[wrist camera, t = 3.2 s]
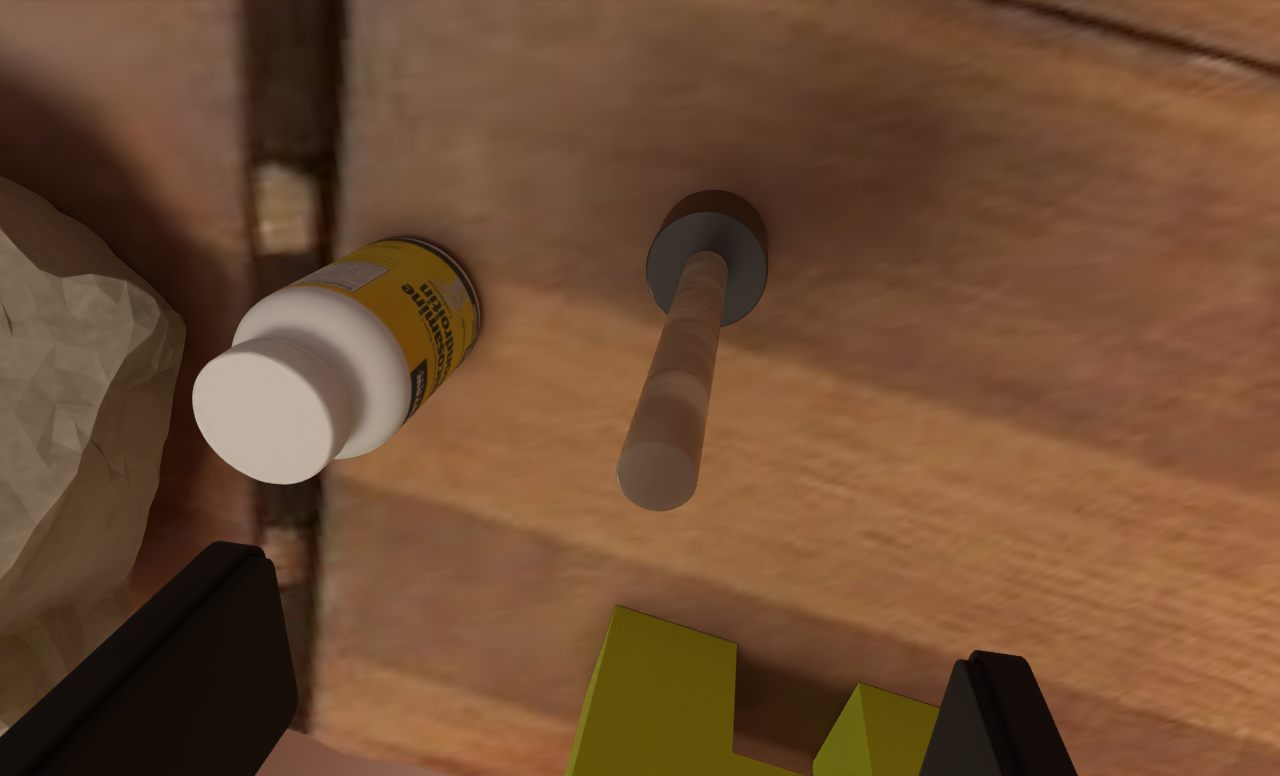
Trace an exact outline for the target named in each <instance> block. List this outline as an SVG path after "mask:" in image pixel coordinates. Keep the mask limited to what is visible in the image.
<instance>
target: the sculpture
mask: <svg viewBox="0 0 1280 776" xmlns="http://www.w3.org/2000/svg"><path fill="white" fill-rule="evenodd" d="M186 330H187V328H186V326H185V324H184V322H183V320H182V318H181V316H180V314H178V313H176V312H175V311H174V310H173V309H172V308H171V307H170V305H169V304H168V303H167V302H166V301H165V299H164V298H163V297H162V296H161V295H160V294H159V293H158V292H157V291H156V290H155V289H154V288H153V287H152V286H151V285H150V284H149V283H148V282H147V281H146V280H145V279H144V278H142V277H141V276H140V275H138V274H137V273H136V272H134V271H133V270H132V269H131V268H130V267H128V266H127V265H126V264H125V263H124V262H122V261H121V260H120V259H119V258H118V257H116V256H115V254H114V253H113V252H112V250H111V249H110V248H109V246H108V245H107V244H106V242H105V241H104V240H103V239H102V238H100V237H99V236H98V235H96V234H95V233H94V232H93V231H91V230H90V229H89V228H88V227H86V226H85V225H84V224H82V223H81V222H79V221H77V220H75V219H73V218H71V217H69V216H67V215H64V214H62V213H60V212H59V211H58V210H57V209H56V208H55V207H54V206H53V205H52V204H50V203H49V202H48V201H46V200H45V199H44V198H42V197H41V196H40V195H38V194H36V193H34V192H32V191H30V190H28V189H26V188H24V187H23V186H21V185H19V184H17V183H15V182H13V181H11V180H9V179H6V178H4V177H2V176H0V737H1V736H2V735H3V734H4V733H5V732H6V731H7V730H8V729H9V728H10V727H12V726H13V725H14V724H15V723H16V722H17V721H18V720H19V719H20V718H21V717H22V716H23V715H25V714H26V713H27V712H28V711H29V710H30V709H31V708H32V707H33V706H34V705H35V704H37V703H38V702H39V701H40V700H41V699H42V698H43V697H44V696H45V695H46V694H47V693H49V692H50V691H51V690H52V689H53V688H54V687H55V686H56V685H57V684H58V683H59V682H60V681H62V680H63V679H64V678H65V677H66V676H67V675H68V674H69V673H70V672H71V671H72V670H74V669H75V668H76V667H77V666H78V665H79V664H80V663H81V662H82V661H83V660H84V659H86V658H87V657H88V656H89V655H90V654H91V653H92V652H93V651H94V650H95V649H96V648H97V647H99V646H100V645H101V644H102V643H103V642H104V641H105V640H106V639H107V638H108V637H109V636H111V635H112V634H113V633H114V632H115V631H116V630H117V629H118V628H119V627H120V626H121V625H123V624H124V623H125V622H126V621H127V620H128V619H129V618H130V615H131V613H132V610H133V609H132V604H131V599H130V592H131V580H132V574H133V568H134V563H135V560H136V556H137V554H138V552H139V549H140V547H141V544H142V540H143V536H144V533H145V529H146V525H147V520H148V515H149V510H150V507H151V504H152V501H153V499H154V496H155V494H156V491H157V489H158V486H159V480H160V474H159V469H160V463H161V458H162V452H163V446H164V442H165V440H166V438H167V436H168V433H169V426H170V418H171V411H172V404H173V396H174V389H175V385H176V380H177V376H178V372H179V369H180V365H181V361H182V356H183V350H184V345H185V337H186Z"/></svg>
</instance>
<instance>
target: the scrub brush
mask: <svg viewBox="0 0 1280 776" xmlns="http://www.w3.org/2000/svg"><path fill="white" fill-rule="evenodd" d="M767 274H768V255H767V235H766V230H765V227H764V224H763V221H762V219H761V217H760V216H759V214H758V213H757V211H756V210H755V209H754V208H753V207H752V206H751V205H750V204H749V203H748V202H747V201H745V200H744V199H742V198H741V197H739V196H737V195H735V194H732V193H729V192H726V191H719V190H708V191H702V192H698V193H695V194H692V195H690V196H688V197H686V198H684V199H683V200H681V201H680V202H679V203H678V204H676V205H675V206H674V207H673V208H672V210H671V211H670V212H669V214H668V215H667V217H666V219H665V220H664V222H663V224H662V226H661V228H660V230H659V232H658V233H657V235H656V237H655V239H654V241H653V243H652V245H651V247H650V250H649V253H648V257H647V262H646V277H647V283H648V286H649V289H650V292H651V294H652V296H653V298H654V300H655V301H656V303H657V304H658V305H659V307H660V308H661V309H662V310H663V311H664V312H665V313H666V314H667V315H668V317H667V320H666V322H665V325H664V328H663V331H662V334H661V337H660V340H659V343H658V346H657V349H656V352H655V355H654V358H653V361H652V364H651V366H650V369H649V372H648V375H647V378H646V381H645V384H644V387H643V390H642V393H641V396H640V399H639V402H638V405H637V408H636V410H635V413H634V416H633V419H632V422H631V425H630V428H629V431H628V434H627V437H626V440H625V443H624V446H623V449H622V452H621V454H620V457H619V460H618V463H617V468H616V478H617V482H618V485H619V487H620V489H621V491H622V492H623V494H624V495H625V496H626V497H627V498H628V499H629V500H630V501H631V502H633V503H634V504H636V505H638V506H639V507H642V508H644V509H648V510H652V511H667V510H672V509H675V508H677V507H679V506H681V505H683V504H684V503H685V502H687V501H688V500H689V499H690V498H691V496H692V495H693V493H694V491H695V489H696V486H697V481H698V475H699V468H700V461H701V454H702V448H703V441H704V434H705V427H706V421H707V414H708V407H709V400H710V394H711V387H712V380H713V373H714V367H715V360H716V353H717V346H718V340H719V333H720V327H724V326H727V325H730V324H732V323H735V322H737V321H738V320H740V319H741V318H743V317H744V316H746V315H747V314H748V313H749V312H750V311H751V310H752V309H753V308H754V307H755V306H756V304H757V303H758V301H759V300H760V298H761V296H762V294H763V292H764V289H765V286H766V281H767Z"/></svg>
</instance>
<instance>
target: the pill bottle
mask: <svg viewBox="0 0 1280 776" xmlns="http://www.w3.org/2000/svg"><path fill="white" fill-rule="evenodd" d="M479 325H480V310H479V304H478V299H477V296H476V293H475V291H474V288H473V286H472V284H471V282H470V280H469V278H468V277H467V275H466V274H465V272H464V271H463V270H462V269H461V267H460V266H459V265H458V264H457V263H456V262H455V261H454V260H453V259H452V258H451V257H449V256H448V255H447V254H446V253H444V252H443V251H441V250H440V249H438V248H436V247H434V246H432V245H430V244H428V243H425V242H422V241H419V240H415V239H410V238H389V239H384V240H380V241H376V242H374V243H371V244H369V245H367V246H365V247H363V248H361V249H359V250H357V251H355V252H353V253H351V254H349V255H347V256H345V257H343V258H341V259H339V260H337V261H335V262H333V263H331V264H330V265H328V266H326V267H324V268H322V269H320V270H318V271H316V272H314V273H312V274H310V275H308V276H306V277H304V278H302V279H300V280H298V281H296V282H294V283H292V284H290V285H288V286H286V287H284V288H282V289H280V290H278V291H276V292H274V293H273V294H271V295H269V296H267V297H266V298H264V299H262V300H261V301H259V302H258V303H257V304H256V305H255V306H253V307H252V308H251V309H250V310H249V311H248V312H247V314H246V315H245V316H244V318H243V319H242V321H241V322H240V324H239V326H238V328H237V330H236V333H235V336H234V339H233V342H232V348H230V349H229V350H227V351H225V352H224V353H222V354H221V355H219V356H218V357H216V358H215V359H213V360H212V361H210V362H209V363H208V364H207V365H206V366H205V367H204V368H203V369H202V370H201V372H200V373H199V375H198V377H197V379H196V381H195V384H194V388H193V397H192V404H193V410H194V415H195V419H196V422H197V424H198V427H199V429H200V431H201V432H202V434H203V436H204V438H205V439H206V441H207V442H208V444H209V445H210V446H211V447H212V449H213V450H214V451H215V452H216V453H217V454H218V455H219V456H220V457H221V458H222V459H223V460H224V461H226V462H227V463H228V464H229V465H231V466H232V467H234V468H235V469H237V470H238V471H240V472H242V473H244V474H246V475H248V476H250V477H252V478H254V479H257V480H259V481H263V482H268V483H273V484H292V483H298V482H301V481H304V480H306V479H309V478H310V477H312V476H314V475H316V474H317V473H318V472H319V471H321V470H322V469H323V468H324V467H325V466H326V465H327V464H328V463H330V462H331V461H332V460H333V459H348V458H353V457H357V456H361V455H364V454H366V453H369V452H371V451H373V450H375V449H376V448H378V447H380V446H381V445H383V444H384V443H385V442H387V441H388V440H389V439H390V438H391V437H392V436H393V435H394V434H395V433H396V432H397V431H398V430H399V429H400V428H401V427H402V425H403V424H404V423H405V422H406V421H407V420H408V419H409V418H410V417H411V416H412V415H413V414H414V413H415V412H416V411H417V410H418V409H419V407H420V406H421V405H422V404H423V403H424V402H425V401H426V400H427V399H428V398H429V397H430V396H431V395H432V394H433V393H434V392H435V391H436V390H437V388H438V387H439V386H440V385H441V384H442V383H443V382H444V381H445V380H446V379H447V378H448V377H449V376H450V374H451V373H452V372H453V371H454V370H455V369H456V368H457V367H458V366H459V365H460V364H461V363H462V362H463V360H464V359H465V358H466V357H467V355H468V354H469V352H470V351H471V349H472V347H473V346H474V343H475V341H476V339H477V335H478V331H479Z"/></svg>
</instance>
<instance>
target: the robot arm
mask: <svg viewBox="0 0 1280 776" xmlns="http://www.w3.org/2000/svg"><path fill="white" fill-rule="evenodd" d="M297 705H298V691H297V686H296V680H295V675H294V670H293V664H292V659H291V653H290V648H289V643H288V637H287V632H286V626H285V621H284V615H283V610H282V605H281V599H280V594H279V588H278V583H277V577H276V572H275V567H274V564H273V562H272V561H271V560H270V559H267V558H266V557H265V554H264V551H263V550H262V549H261V548H260V547H257V546H252V545H245V544H238V543H232V542H225V541H217V542H213V543H212V544H210V545H209V546H208V547H206V548H205V549H204V550H203V551H202V552H201V553H200V554H199V555H198V556H197V557H195V558H194V559H193V560H192V561H191V562H190V563H189V564H188V565H187V566H186V567H185V568H183V569H182V570H181V571H180V572H179V573H178V574H177V575H176V576H175V577H174V578H173V579H172V580H170V581H169V582H168V583H167V584H166V585H165V586H164V587H163V588H162V589H161V590H160V591H158V592H157V593H156V594H155V595H154V596H153V597H152V598H151V599H150V600H149V601H148V602H146V603H145V604H144V605H143V606H142V607H141V608H140V609H139V610H138V611H137V612H136V613H134V614H133V615H132V616H131V617H130V618H129V619H128V620H127V621H126V622H125V623H124V624H123V625H121V626H120V627H119V628H118V629H117V630H116V631H115V632H114V633H113V634H112V635H111V636H109V637H108V638H107V639H106V640H105V641H104V642H103V643H102V644H101V645H100V646H99V647H97V648H96V649H95V650H94V651H93V652H92V653H91V654H90V655H89V656H88V657H87V658H86V659H84V660H83V661H82V662H81V663H80V664H79V665H78V666H77V667H76V668H75V669H74V670H72V671H71V672H70V673H69V674H68V675H67V676H66V677H65V678H64V679H63V680H62V681H60V682H59V683H58V684H57V685H56V686H55V687H54V688H53V689H52V690H51V691H50V692H49V693H47V694H46V695H45V696H44V697H43V698H42V699H41V700H40V701H39V702H38V703H37V704H35V705H34V706H33V707H32V708H31V709H30V710H29V711H28V712H27V713H26V714H25V715H23V716H22V717H21V718H20V719H19V720H18V721H17V722H16V723H15V724H14V725H13V726H12V727H10V728H9V729H8V730H7V731H6V732H5V733H4V734H3V735H2V736H1V737H0V776H255V774H256V773H257V772H258V770H259V769H260V767H261V765H262V764H263V763H264V761H265V760H266V758H267V757H268V755H269V754H270V753H271V751H272V750H273V748H274V747H275V745H276V744H277V742H278V741H279V739H280V738H281V736H282V735H283V734H284V732H285V731H286V729H287V728H288V726H289V725H290V723H291V721H292V720H293V717H294V715H295V713H296V709H297ZM919 776H1078V775H1077V773H1076V770H1075V768H1074V766H1073V764H1072V761H1071V759H1070V757H1069V754H1068V752H1067V750H1066V748H1065V745H1064V743H1063V741H1062V738H1061V736H1060V734H1059V732H1058V729H1057V727H1056V725H1055V723H1054V720H1053V718H1052V716H1051V713H1050V711H1049V709H1048V707H1047V704H1046V702H1045V700H1044V697H1043V695H1042V693H1041V691H1040V688H1039V686H1038V684H1037V682H1036V679H1035V677H1034V675H1033V672H1032V670H1031V668H1030V666H1029V664H1028V662H1027V661H1026V659H1024V658H1023V657H1022V656H1015V655H1008V654H1001V653H994V652H987V651H980V650H975V651H974V652H973V653H972V654H971V655H970V657H969V660H961V659H960V660H957V661H956V662H955V665H954V667H953V670H952V673H951V676H950V679H949V682H948V686H947V689H946V692H945V695H944V698H943V701H942V704H941V707H940V710H939V714H938V717H937V720H936V723H935V726H934V729H933V732H932V735H931V738H930V742H929V745H928V748H927V751H926V754H925V757H924V760H923V763H922V766H921V770H920V773H919Z"/></svg>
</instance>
